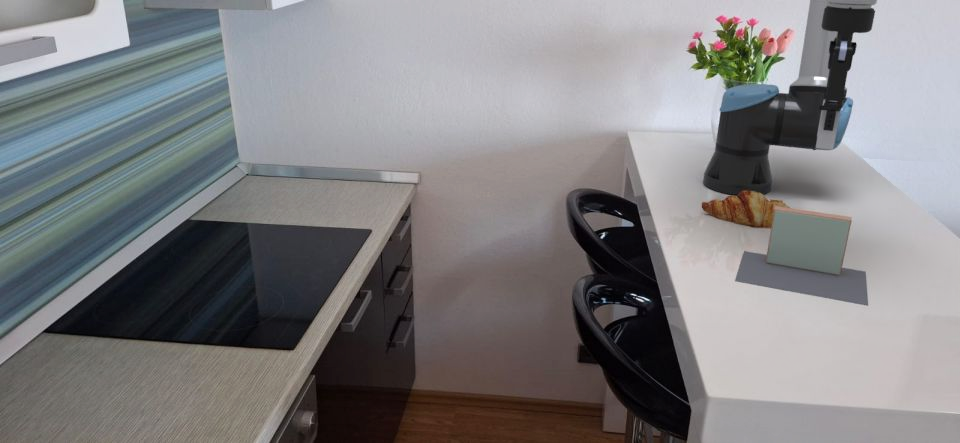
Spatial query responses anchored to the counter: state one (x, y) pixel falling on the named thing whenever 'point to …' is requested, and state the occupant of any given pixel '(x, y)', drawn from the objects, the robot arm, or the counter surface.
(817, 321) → the counter surface
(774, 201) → the croissant
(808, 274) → the mat
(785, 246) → the block
